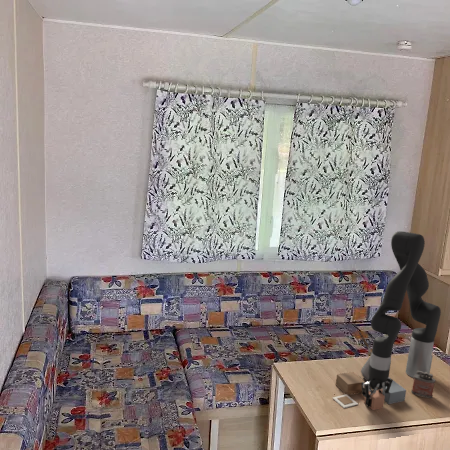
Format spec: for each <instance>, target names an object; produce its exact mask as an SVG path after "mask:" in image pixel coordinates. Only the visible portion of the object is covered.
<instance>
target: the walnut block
mask: <svg viewBox="0 0 450 450" xmlns="http://www.w3.org/2000/svg"><path fill="white" fill-rule="evenodd" d="M362 382H364V383H366V381H365V380H364V379H362V378H361V377H360V376H359V375H358V374H357V373H355V372H354V371H349V372H343V373H337V374H336V381H335V385H336V386H337V388H338V389H340V390H341V391H342V392H343V393H344V395H345V394H347V395H348V396H350V395H357V394H362V385H361V384H362Z"/></svg>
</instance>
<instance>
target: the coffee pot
mask: <svg viewBox="0 0 450 450" xmlns="http://www.w3.org/2000/svg"><path fill="white" fill-rule="evenodd" d="M356 335H359V336H360V338H361V340H362V342H363V343H364V345H365V347H366V348H367V349H368V351H369V353H370V356H369V357H368V359H367V360H366V362H365V363H364V365H363V366H362V367H361V369H360V373H361V375H362V377H363V378H364V380H366V382H368V379H369V374H368V370H369V364H370V357H371V354H372V349H373V348H370V345H369V344H368V342H367V340H366V338H365V337H364V335H363V334H362V332H361V331H359V332H357V333H356Z"/></svg>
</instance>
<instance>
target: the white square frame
mask: <svg viewBox="0 0 450 450" xmlns="http://www.w3.org/2000/svg"><path fill="white" fill-rule="evenodd" d="M331 399H333V400H334V401H335V402H336V403H337V404H338V405H340V407H342V408H343V409H347V408H350V407H355V406H358V405H359V403H358V402H357V401H356V400H355V399H353V398H352V397H350V395H347V394H345V393H344V394H342V395H338V396H333V397H332V398H331Z"/></svg>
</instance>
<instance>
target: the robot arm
mask: <svg viewBox="0 0 450 450" xmlns="http://www.w3.org/2000/svg"><path fill="white" fill-rule="evenodd" d="M390 243H391V244H390V245H391V246H390V247H391V250H392V253H393V256H394V257H395V260H396V263H397V264H398V267H399V272H397V273H396V274H395V275H394V276H393V277H392V279H390V280H389V281H388V284H387V285H386V287H385V292H384V295H383V298H382V301H381V303H380V305H379V307H378V308H377V310H376V311H375V313H374V315H373V316H372V318H371V320H370V326H371V329H372V330H373V331H375V332H377V333H380V334H384V335H386V336H377V337H375V338H374V340H373V344H372V348H371V349H372V354H371V353H370V356H371V357H370V356H369V357H370V364H369V370H368V374H369V379H368V381H365V383H364V382H362V384H361V385H362V393H361V395H362V396H363V397H364V398H365V397H366V402H365V401H364V402H365V403H364V404H365V406H366V407H368V408H370V407H371V403H372V397H373V395H374V394H375V393H376V390H378V391H379V392H380V393H381V394H383V395H385V393H388V392H389V390H390V387H391V384H392V381H394V379H393V378H391V377H390V371H391V363H392V353H393V347H394V343H395V342H396V339H397V337H398V335H399V334H400V331H401V329H402V323H401V320H400V319H399V318H398V317H395V316H392V315H388V314H386V313H388V312H389V311H396V312H399V311H400V310H401V309H402V306H403V303H404V299H405V296H406V293H407V296H408V302H409V310H410V315H411V318H412V319H413V320H414V321H416V322H418V323H421V324H423V325H425V327H417V328H414V329H412V331H411V332H412V333H411V337H410V341H409V342H410V343H409V349H408V355H407V361H406V365H405V367H406V368H405V374H406V375H408V376H409V377H410V378H413V379H414V375H418V374H417V371H422V372H428V373H429V374H431V373H430V372H431V368H432V362H433V349H434V344H435V338H436V336H437V332H438V327H439V323H440V319H441V315H442V312H441V308H440V306H439V305H436V304H433V303H431V302H427V301H426V300H425V301H424V300H423V299H422V297H423V296H424V295H425V294H426V293H427V291H428V289H429V287H430V285H429V284H430V283H429V278H428V275H427V272H426V270H425V269H424V267H422V265H421V264H420V263H419V262H420V260H421V257H422V255H423V253H424V248H425V245H426V244H425V238H424V236H423V235H422V234H419V233H413V232H407V231H397V232H395V233H393V234H392V237H391V242H390ZM386 386H387V389H385V388H386ZM370 392H371V394H369V393H370Z"/></svg>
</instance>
